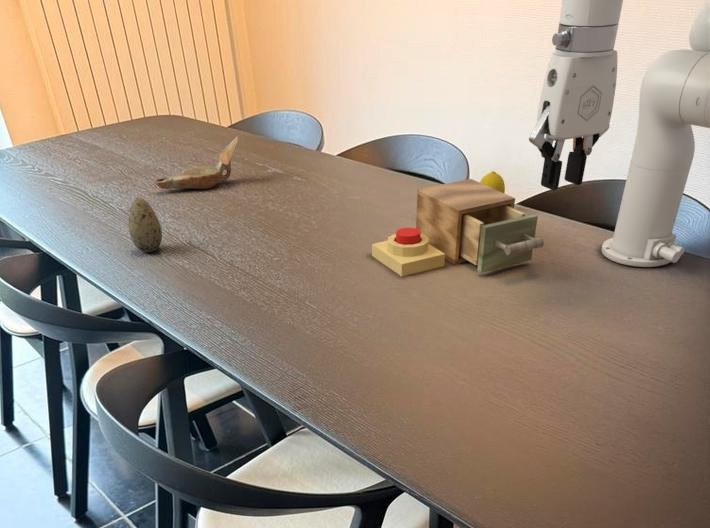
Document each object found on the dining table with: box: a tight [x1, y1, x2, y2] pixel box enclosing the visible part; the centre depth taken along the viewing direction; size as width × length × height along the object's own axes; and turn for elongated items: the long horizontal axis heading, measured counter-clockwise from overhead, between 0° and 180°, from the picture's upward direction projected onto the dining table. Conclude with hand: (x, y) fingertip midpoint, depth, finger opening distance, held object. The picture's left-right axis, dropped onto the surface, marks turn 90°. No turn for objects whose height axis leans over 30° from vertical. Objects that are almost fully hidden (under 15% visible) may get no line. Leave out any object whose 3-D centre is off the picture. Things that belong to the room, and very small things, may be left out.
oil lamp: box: [154, 135, 239, 190], centre depth 158 cm, size 9×21×10 cm, turn 114°
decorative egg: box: [128, 197, 163, 253], centre depth 128 cm, size 6×6×10 cm
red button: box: [395, 227, 421, 245], centre depth 121 cm, size 4×4×2 cm
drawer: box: [459, 205, 545, 274], centre depth 118 cm, size 17×11×8 cm, turn 27°
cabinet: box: [415, 178, 516, 265], centre depth 125 cm, size 14×12×10 cm
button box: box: [371, 233, 446, 277], centre depth 122 cm, size 11×9×4 cm
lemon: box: [479, 170, 506, 194], centre depth 140 cm, size 6×6×8 cm
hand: (561, 183), depth 101 cm, fingers open, 3 cm apart
